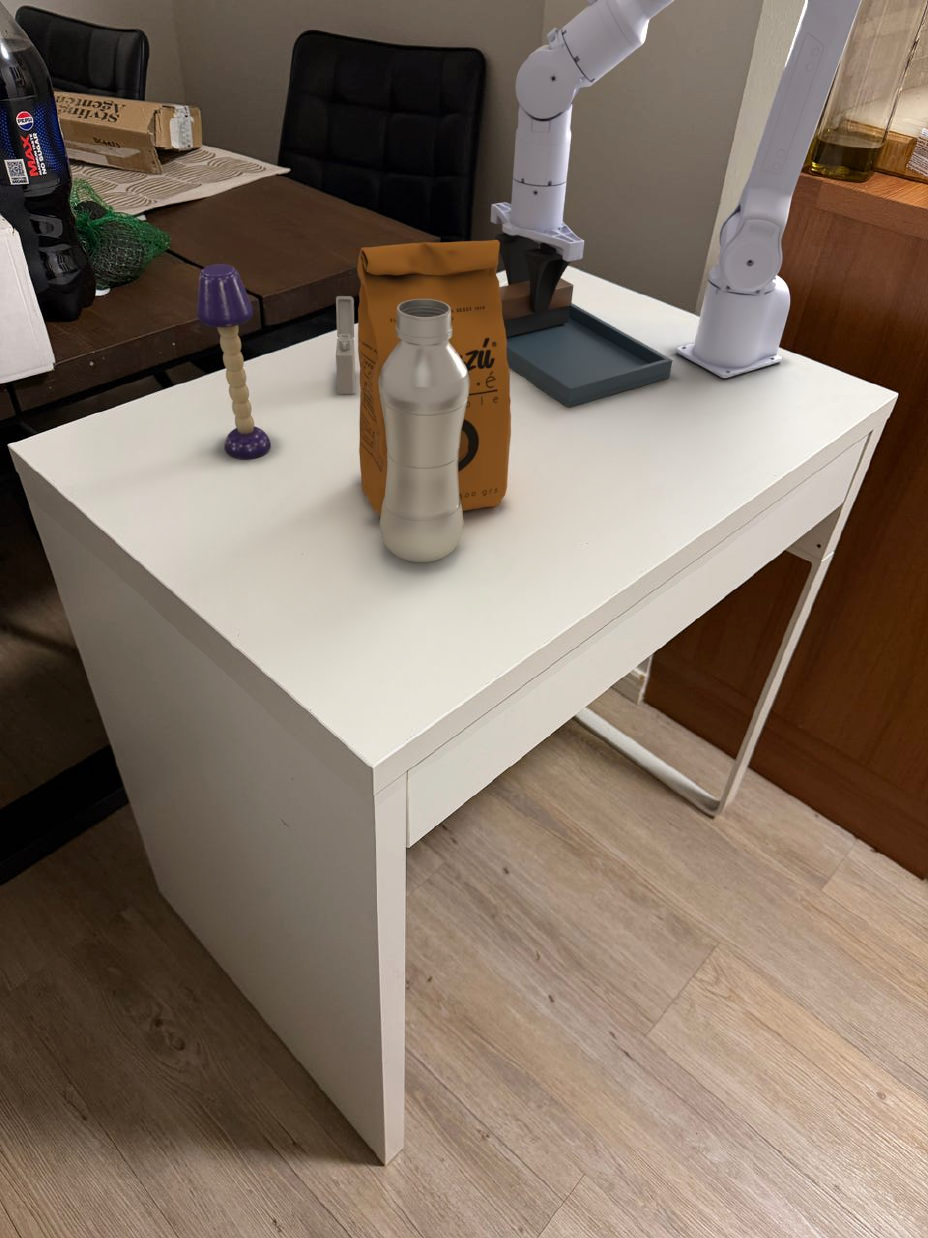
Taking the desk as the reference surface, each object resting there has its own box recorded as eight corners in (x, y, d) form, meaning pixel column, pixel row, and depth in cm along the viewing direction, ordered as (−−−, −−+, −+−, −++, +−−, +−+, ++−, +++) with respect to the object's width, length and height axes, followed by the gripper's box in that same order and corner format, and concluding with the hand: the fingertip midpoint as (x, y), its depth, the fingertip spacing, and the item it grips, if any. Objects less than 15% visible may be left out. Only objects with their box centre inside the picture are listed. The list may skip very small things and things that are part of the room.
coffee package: (514, 521, 79) (538, 262, 65) (370, 534, 77) (361, 269, 62) (487, 461, 86) (503, 216, 72) (355, 471, 84) (344, 221, 70)
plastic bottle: (379, 528, 77) (372, 291, 65) (459, 526, 78) (467, 290, 65) (381, 574, 72) (374, 326, 60) (467, 571, 73) (478, 325, 60)
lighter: (354, 394, 95) (351, 319, 90) (337, 394, 95) (333, 319, 90) (356, 364, 101) (353, 291, 95) (340, 363, 100) (336, 291, 95)
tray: (543, 304, 116) (545, 287, 114) (669, 377, 101) (673, 359, 100) (448, 325, 109) (448, 308, 108) (567, 407, 95) (570, 388, 94)
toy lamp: (226, 464, 84) (199, 282, 73) (212, 440, 87) (184, 263, 76) (277, 453, 86) (257, 274, 75) (261, 430, 89) (240, 255, 78)
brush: (551, 312, 111) (555, 274, 108) (569, 323, 109) (573, 284, 106) (483, 328, 107) (485, 289, 104) (500, 339, 105) (503, 300, 102)
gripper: (470, 165, 100) (465, 288, 109) (551, 202, 91) (538, 333, 100) (523, 158, 103) (514, 278, 112) (605, 193, 94) (588, 321, 103)
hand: (528, 304), depth 106 cm, fingers closed on brush, 3 cm apart
